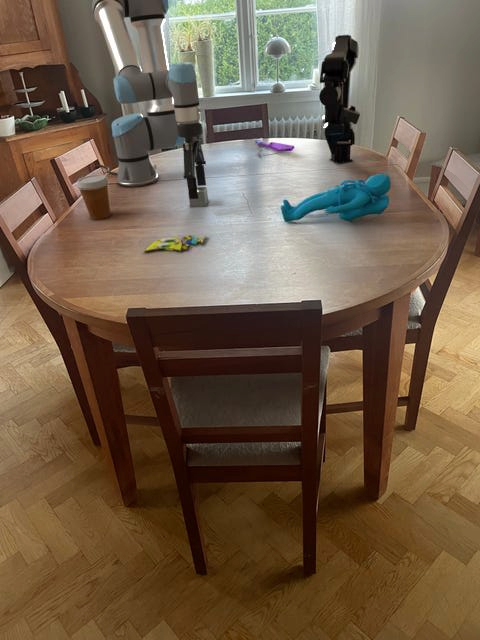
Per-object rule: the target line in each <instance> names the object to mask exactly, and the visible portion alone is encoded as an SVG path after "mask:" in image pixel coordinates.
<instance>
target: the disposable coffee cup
mask: <svg viewBox="0 0 480 640" xmlns="http://www.w3.org/2000/svg"><path fill="white" fill-rule="evenodd" d="M108 182H109V179H108V178H107V177H106V175H105V174H90V175H86V176H82V177H80V178H78V179H77V183H76V187H77V188H78V190H79V192H80V195H81V197H82V199H83V202H84V204H85V207H86V209H87V212H88V214H89V217H90V219H92V220H103V219H106V218H109V217H110V216H111V206H110V197H109V196H110V195H109V187H108Z"/></svg>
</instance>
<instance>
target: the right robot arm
mask: <svg viewBox="0 0 480 640" xmlns="http://www.w3.org/2000/svg"><path fill="white" fill-rule="evenodd" d="M358 58H359V43H358V41H356V40H355V39H354V38H352V35H350V34H339V35H337V36H335V39H334V42H333V43H332V51H331V52H330V53H329V54H327V55H325V57H324V58H323V61H321V66H320V75H319V84H324V86H323V87H322V88H321V90H320V92H319V95H318V97H319V103H321V104H322V105H323V107H324V112H323V113H324V114H323V116H322V127H323V133H324V137H325V140H326V143H327V146H328V148H329V151H330V158H329V161H331V162H333V163H335V164H344V163H348V162H352V161H353V158H351V147H352V146H354V145H355V144H356V142H355V141H356V134H355V132H354V128H353V125H357V124H358V121H359V119H360V117H361V113H360V112H359V111H357V109H356V106H354V105H350V92H351V91H350V90H351V78H352V77H351V76H352V75H351V74H352V71H353V69H354V68H355V66H356V64H357V59H358Z"/></svg>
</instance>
